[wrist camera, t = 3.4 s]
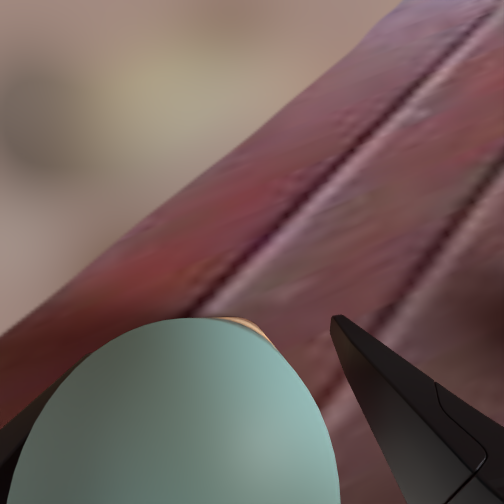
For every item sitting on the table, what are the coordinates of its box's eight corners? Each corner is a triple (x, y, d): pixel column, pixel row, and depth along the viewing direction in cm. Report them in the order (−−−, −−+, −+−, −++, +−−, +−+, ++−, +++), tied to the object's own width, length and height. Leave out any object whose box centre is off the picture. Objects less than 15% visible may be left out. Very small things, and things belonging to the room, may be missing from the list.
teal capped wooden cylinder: (236, 406, 14) (159, 887, 2) (187, 354, 15) (-64, 503, 3) (282, 349, 15) (405, 476, 3) (234, 303, 16) (184, 262, 4)
